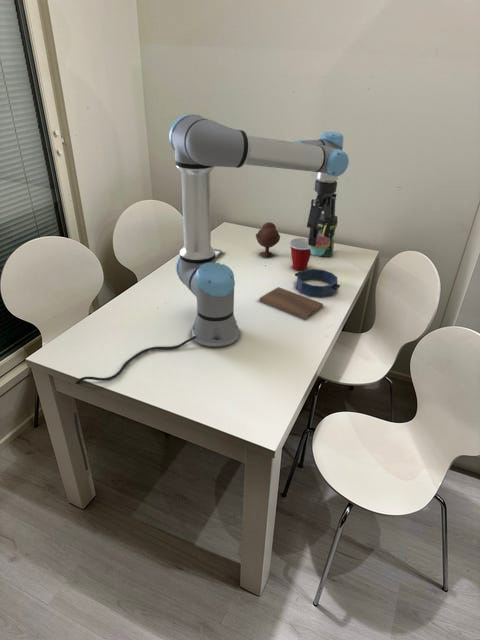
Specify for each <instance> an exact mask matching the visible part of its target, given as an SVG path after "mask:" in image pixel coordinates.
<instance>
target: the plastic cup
mask: <svg viewBox="0 0 480 640" xmlns="http://www.w3.org/2000/svg"><path fill="white" fill-rule="evenodd" d="M307 239H308V238H307V237H294V238H291V239H290V240H289V242H288V245H289V246H290V252H291V253H290V254H291V262H292V269H293V270H294V271H298V272H299V271H300V272H301V271H303V270H307V268H308V264H309V262H310V258H311V255H312V254H311V251H310V246H309V245H308V244H307Z"/></svg>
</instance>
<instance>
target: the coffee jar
mask: <svg viewBox="0 0 480 640" xmlns="http://www.w3.org/2000/svg"><path fill="white" fill-rule="evenodd" d="M332 220H334V222H333V223H332V222H330V223H331V224H330V231H329V238H328V239H329V240H330V246H329V247H327V248H326V250H325V252H324V254H323V255H320V256H319V257H324V258H329V257H331V256H332V255H334V249H335V248H334V247H335V246H334V245H335V232H336V229H337V227H338V216H337V215H335V218H334V219H332ZM324 221H325V218H324V213H322V214H321V217H320V220H319V223H318V225H317V228H316V229H318V232H317V235H318V234H321V235H322V227H323V222H324ZM325 222H326V221H325Z"/></svg>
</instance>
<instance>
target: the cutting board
mask: <svg viewBox="0 0 480 640" xmlns="http://www.w3.org/2000/svg"><path fill="white" fill-rule="evenodd" d="M259 303H263V304H265V305H267V306H270V307H272V308H275V309H278V310H280V311H282V312H285V313H287V314H290V315H292V316H294V317H297V318H300V319H303V320H307V319H308V318H310V317H311V316H312V315H313V314H315V313H317V312H318V311H319V310H321V309H322V308H323V306H324V303H322V302H320V301H316V300H315V299H312V298H309V297H306V296H304V295H301V294H298V293H295V292H293V291H291V290H288V289H285V288H282V287H280V286H277V287H276V288H274V289H273V290H271V291H269V292H268V293H265V294H263V295H262V296H260V297H259Z"/></svg>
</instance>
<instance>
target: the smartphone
mask: <svg viewBox="0 0 480 640" xmlns="http://www.w3.org/2000/svg"><path fill="white" fill-rule="evenodd" d="M213 249H214V250H215V259H217V258H218V257H219V256H221V255H222V254H223V250H221V249H216V248H213Z"/></svg>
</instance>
